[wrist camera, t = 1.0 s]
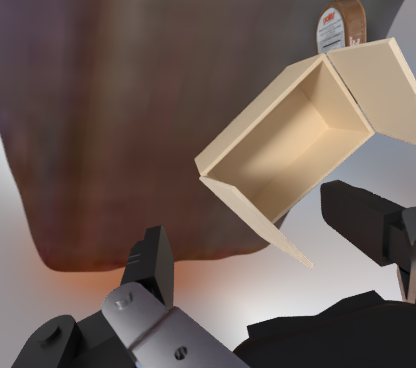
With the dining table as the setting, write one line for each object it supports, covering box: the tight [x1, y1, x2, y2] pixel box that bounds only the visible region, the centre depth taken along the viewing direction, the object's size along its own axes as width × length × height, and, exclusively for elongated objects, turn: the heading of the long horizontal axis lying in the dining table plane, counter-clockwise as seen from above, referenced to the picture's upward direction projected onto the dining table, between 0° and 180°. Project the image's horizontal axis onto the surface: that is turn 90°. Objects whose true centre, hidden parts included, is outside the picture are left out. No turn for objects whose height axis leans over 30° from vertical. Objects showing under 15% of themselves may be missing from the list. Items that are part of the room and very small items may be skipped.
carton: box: [195, 53, 375, 224], centre depth 37 cm, size 22×14×10 cm, turn 134°
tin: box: [316, 0, 367, 104], centre depth 35 cm, size 15×3×8 cm, turn 17°
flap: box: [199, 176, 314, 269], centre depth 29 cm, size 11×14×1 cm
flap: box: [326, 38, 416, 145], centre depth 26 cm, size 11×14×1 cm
